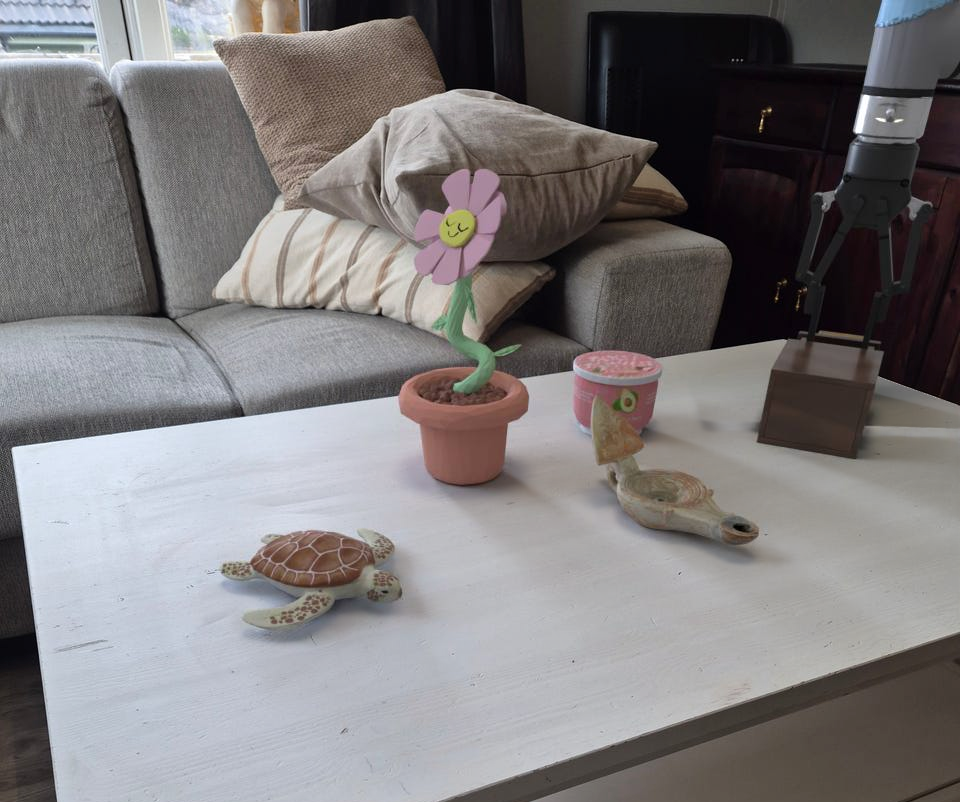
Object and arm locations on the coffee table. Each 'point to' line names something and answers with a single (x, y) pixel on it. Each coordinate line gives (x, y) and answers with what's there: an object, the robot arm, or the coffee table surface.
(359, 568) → the decorative turtle
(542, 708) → the coffee table surface
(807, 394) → the cabinet
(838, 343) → the drawer
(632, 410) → the container
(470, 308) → the decorative flower
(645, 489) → the oil lamp
